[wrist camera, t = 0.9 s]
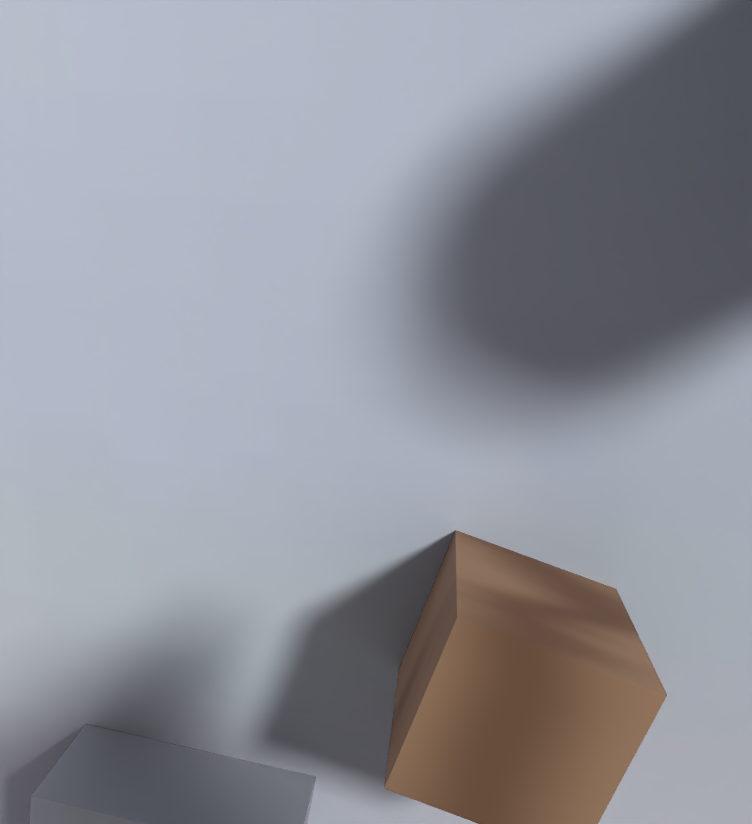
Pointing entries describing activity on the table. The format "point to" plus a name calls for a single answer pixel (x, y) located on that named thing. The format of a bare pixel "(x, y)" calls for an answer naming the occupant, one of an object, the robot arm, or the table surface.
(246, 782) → the slate block
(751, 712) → the table surface
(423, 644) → the walnut cube
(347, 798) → the table surface
